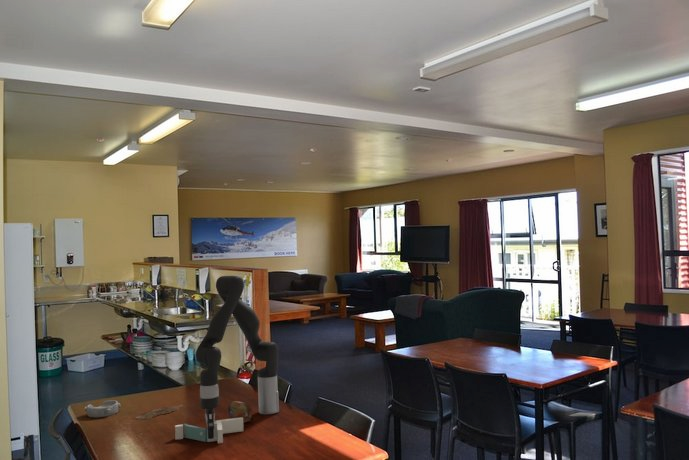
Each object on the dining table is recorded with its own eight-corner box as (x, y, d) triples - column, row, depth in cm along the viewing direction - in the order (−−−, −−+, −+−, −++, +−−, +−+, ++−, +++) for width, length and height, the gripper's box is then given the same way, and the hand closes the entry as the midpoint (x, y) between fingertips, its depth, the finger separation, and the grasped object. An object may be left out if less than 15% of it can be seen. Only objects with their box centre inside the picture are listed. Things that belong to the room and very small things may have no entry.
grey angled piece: (243, 429, 231) (242, 417, 231) (246, 439, 219) (245, 426, 219) (175, 438, 223) (175, 425, 224) (174, 449, 211) (174, 435, 211)
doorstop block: (217, 437, 221) (216, 420, 221) (217, 440, 217) (217, 423, 217) (207, 438, 220) (206, 421, 220) (207, 442, 216) (207, 424, 216)
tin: (227, 418, 248) (227, 400, 248) (233, 416, 250) (233, 398, 250) (247, 424, 237) (247, 405, 238) (253, 423, 240) (252, 404, 240)
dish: (80, 417, 257) (80, 406, 257) (103, 408, 270) (103, 398, 270) (103, 420, 252) (103, 409, 252) (125, 411, 264) (125, 401, 265)
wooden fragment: (140, 421, 247) (140, 419, 247) (129, 417, 255) (129, 415, 255) (190, 408, 266) (190, 406, 266) (178, 404, 274) (178, 402, 274)
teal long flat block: (207, 440, 218) (207, 427, 218) (203, 442, 216) (203, 429, 216) (185, 436, 224) (185, 423, 225) (181, 437, 223) (181, 424, 223)
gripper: (219, 398, 213) (220, 439, 212) (218, 389, 227) (219, 428, 226) (200, 400, 211) (201, 442, 210) (199, 391, 225) (200, 430, 224)
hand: (210, 434), depth 218 cm, fingers open, 8 cm apart
